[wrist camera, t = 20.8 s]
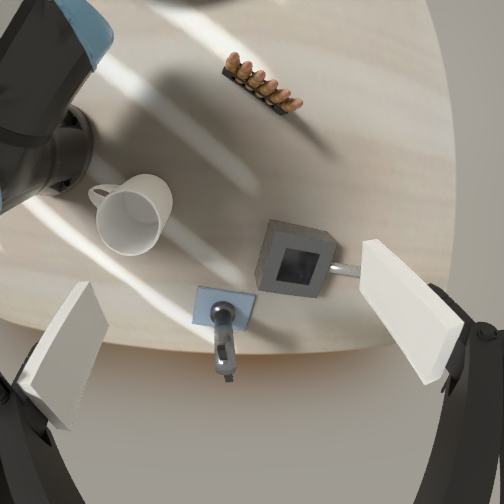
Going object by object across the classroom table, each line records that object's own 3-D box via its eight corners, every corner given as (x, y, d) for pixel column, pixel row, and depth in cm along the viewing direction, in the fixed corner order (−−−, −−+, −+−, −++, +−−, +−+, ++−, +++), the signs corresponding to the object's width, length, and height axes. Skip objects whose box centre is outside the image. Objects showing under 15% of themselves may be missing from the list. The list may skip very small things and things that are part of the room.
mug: (115, 154, 38) (86, 165, 29) (183, 187, 42) (172, 208, 32) (96, 203, 41) (66, 227, 32) (160, 235, 45) (145, 267, 35)
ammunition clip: (288, 106, 38) (313, 101, 28) (280, 115, 39) (303, 114, 28) (229, 64, 35) (233, 42, 24) (221, 73, 35) (222, 55, 25)
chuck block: (254, 274, 50) (258, 290, 45) (269, 219, 46) (275, 231, 41) (367, 291, 54) (377, 305, 50) (386, 245, 50) (400, 257, 46)
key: (206, 296, 50) (205, 353, 37) (231, 293, 50) (237, 349, 37) (214, 327, 53) (215, 384, 40) (237, 324, 53) (244, 381, 40)
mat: (192, 321, 53) (192, 323, 52) (198, 286, 49) (198, 287, 49) (244, 328, 55) (244, 330, 54) (254, 294, 51) (255, 296, 51)
